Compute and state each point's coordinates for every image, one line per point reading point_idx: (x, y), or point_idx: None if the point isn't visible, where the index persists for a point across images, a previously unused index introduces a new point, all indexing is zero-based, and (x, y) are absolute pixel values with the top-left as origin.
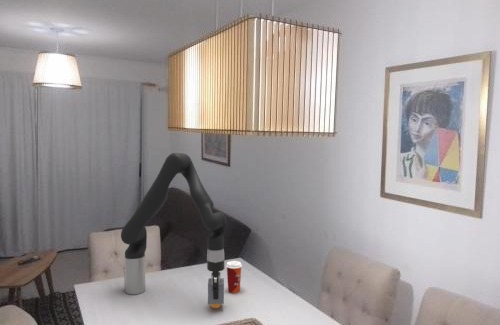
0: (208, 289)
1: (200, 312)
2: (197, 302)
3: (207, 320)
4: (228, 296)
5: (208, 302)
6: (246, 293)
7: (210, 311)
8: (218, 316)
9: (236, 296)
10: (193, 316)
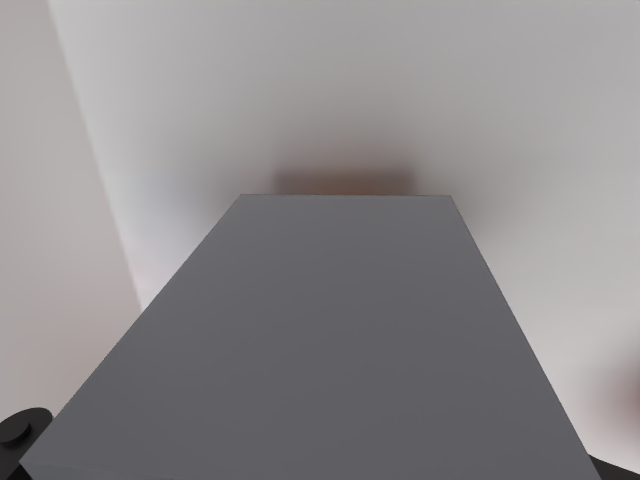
0: (132, 339)
1: (245, 82)
2: (540, 3)
3: (99, 167)
4: (593, 341)
5: (233, 209)
6: (600, 451)
7: (275, 188)
8: (189, 254)
9: (567, 392)
10: (139, 2)
